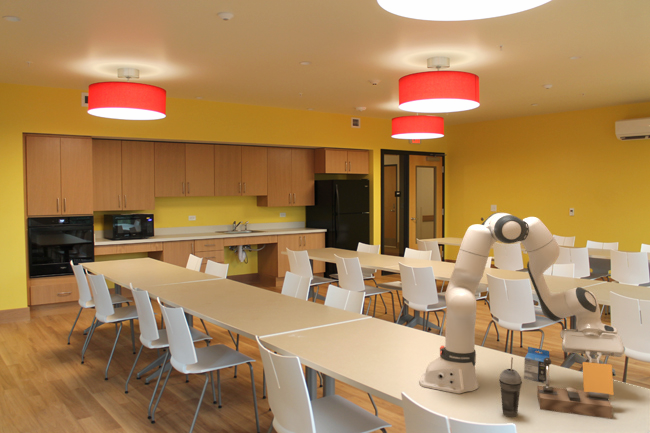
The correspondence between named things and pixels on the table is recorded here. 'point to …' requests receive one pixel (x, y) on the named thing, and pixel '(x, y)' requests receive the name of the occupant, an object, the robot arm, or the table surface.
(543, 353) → the label tape box
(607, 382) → the orange paddle
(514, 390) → the beverage cup
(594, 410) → the control panel
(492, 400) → the table surface
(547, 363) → the steel toggle lever
